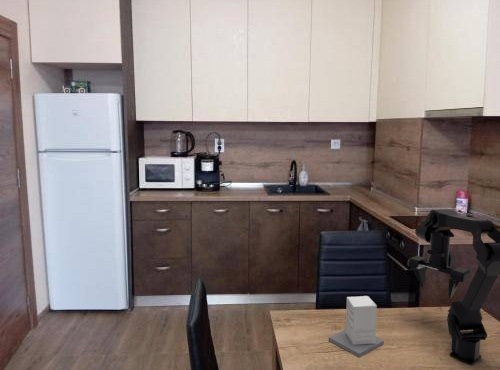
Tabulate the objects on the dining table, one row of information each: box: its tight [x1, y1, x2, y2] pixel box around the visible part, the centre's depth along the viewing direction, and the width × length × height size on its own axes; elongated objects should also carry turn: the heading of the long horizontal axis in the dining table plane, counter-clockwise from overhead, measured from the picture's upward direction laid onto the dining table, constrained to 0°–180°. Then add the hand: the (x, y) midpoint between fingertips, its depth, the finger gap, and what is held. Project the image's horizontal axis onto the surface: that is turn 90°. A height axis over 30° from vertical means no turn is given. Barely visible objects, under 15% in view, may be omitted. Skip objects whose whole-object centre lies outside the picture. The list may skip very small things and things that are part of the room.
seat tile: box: [328, 328, 385, 358], centre depth 129 cm, size 12×12×1 cm
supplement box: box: [345, 295, 378, 345], centre depth 128 cm, size 7×7×13 cm
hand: (436, 293), depth 135 cm, fingers open, 9 cm apart
